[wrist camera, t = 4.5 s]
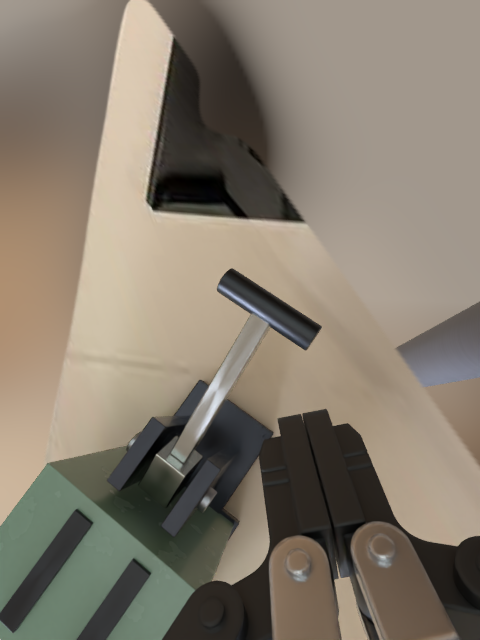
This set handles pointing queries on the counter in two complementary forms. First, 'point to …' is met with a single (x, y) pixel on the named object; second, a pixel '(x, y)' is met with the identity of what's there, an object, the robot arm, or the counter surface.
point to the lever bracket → (216, 448)
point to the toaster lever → (224, 381)
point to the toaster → (100, 557)
